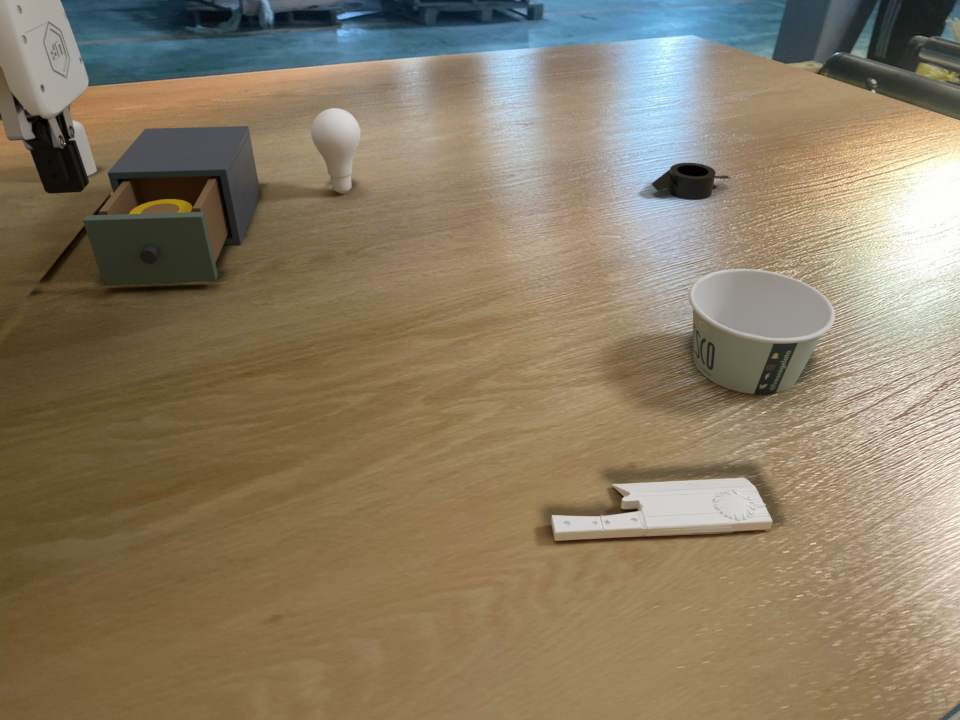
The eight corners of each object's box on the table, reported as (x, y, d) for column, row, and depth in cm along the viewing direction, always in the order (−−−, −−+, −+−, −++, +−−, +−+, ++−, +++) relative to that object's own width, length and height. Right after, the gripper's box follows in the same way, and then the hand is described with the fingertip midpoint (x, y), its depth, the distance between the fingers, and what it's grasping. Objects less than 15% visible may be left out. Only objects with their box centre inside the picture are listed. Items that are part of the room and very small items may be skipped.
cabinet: (240, 244, 88) (225, 169, 83) (129, 248, 87) (106, 172, 82) (260, 194, 100) (248, 125, 95) (162, 197, 99) (144, 128, 94)
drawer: (213, 286, 78) (198, 221, 74) (99, 291, 78) (78, 225, 73) (239, 225, 90) (227, 166, 86) (140, 228, 90) (124, 169, 85)
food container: (845, 390, 66) (867, 326, 62) (722, 416, 63) (737, 350, 59) (764, 319, 75) (780, 260, 71) (654, 338, 72) (664, 277, 68)
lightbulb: (373, 195, 100) (366, 111, 94) (331, 206, 97) (321, 120, 91) (352, 180, 104) (344, 99, 98) (311, 190, 101) (300, 107, 95)
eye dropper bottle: (53, 181, 104) (23, 91, 97) (98, 174, 106) (71, 86, 99) (55, 193, 100) (24, 101, 94) (101, 185, 103) (74, 94, 96)
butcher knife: (544, 488, 56) (545, 477, 55) (745, 480, 57) (748, 469, 56) (554, 541, 52) (555, 529, 51) (771, 531, 52) (774, 520, 52)
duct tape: (653, 177, 105) (656, 157, 104) (728, 184, 103) (732, 163, 102) (648, 199, 99) (651, 177, 98) (728, 207, 97) (732, 185, 95)
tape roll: (131, 264, 80) (120, 224, 77) (148, 237, 85) (138, 199, 83) (193, 262, 80) (184, 222, 78) (206, 235, 86) (198, 197, 83)
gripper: (-8, -36, 49) (82, 224, 60) (74, -64, 62) (137, 156, 72) (-128, -32, 49) (-16, 229, 60) (-22, -61, 61) (56, 160, 72)
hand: (68, 188), depth 66 cm, fingers closed
